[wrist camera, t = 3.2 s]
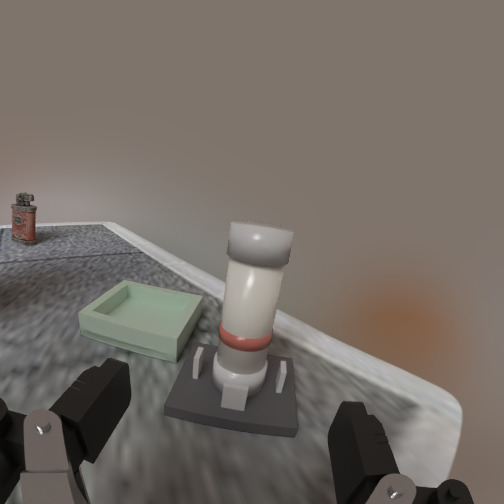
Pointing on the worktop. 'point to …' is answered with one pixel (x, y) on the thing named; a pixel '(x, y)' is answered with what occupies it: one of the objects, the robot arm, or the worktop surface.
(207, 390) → the grey base plate
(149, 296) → the tray
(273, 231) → the fuse
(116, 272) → the worktop surface
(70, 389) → the robot arm
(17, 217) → the lighter
